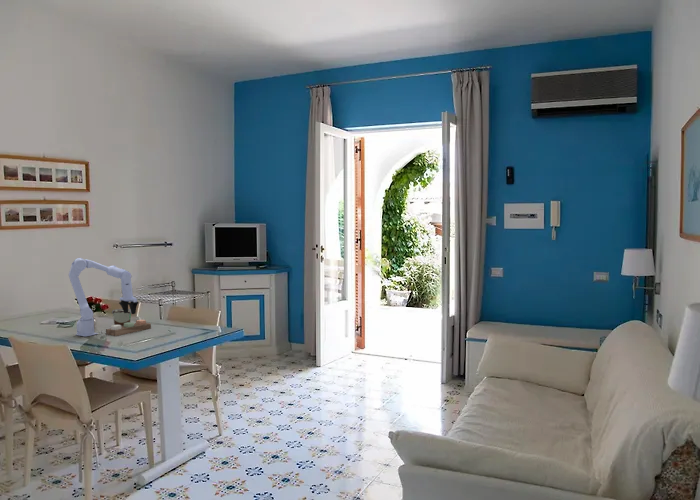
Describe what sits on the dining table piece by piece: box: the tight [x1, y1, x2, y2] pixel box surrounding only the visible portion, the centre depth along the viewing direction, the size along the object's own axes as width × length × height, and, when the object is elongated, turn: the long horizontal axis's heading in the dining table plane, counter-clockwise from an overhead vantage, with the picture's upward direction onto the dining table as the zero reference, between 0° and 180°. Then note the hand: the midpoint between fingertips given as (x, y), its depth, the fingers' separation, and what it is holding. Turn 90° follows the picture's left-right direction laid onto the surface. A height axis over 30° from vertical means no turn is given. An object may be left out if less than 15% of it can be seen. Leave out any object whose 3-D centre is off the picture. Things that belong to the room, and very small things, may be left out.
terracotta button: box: [135, 319, 147, 325], centre depth 341 cm, size 4×4×3 cm
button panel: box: [105, 322, 152, 337], centre depth 334 cm, size 9×24×3 cm, turn 148°
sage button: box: [124, 321, 135, 327], centre depth 334 cm, size 4×4×3 cm
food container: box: [111, 308, 132, 326], centre depth 352 cm, size 12×6×10 cm, turn 84°
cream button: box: [110, 325, 121, 330], centre depth 327 cm, size 4×4×3 cm
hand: (129, 313), depth 336 cm, fingers open, 7 cm apart
